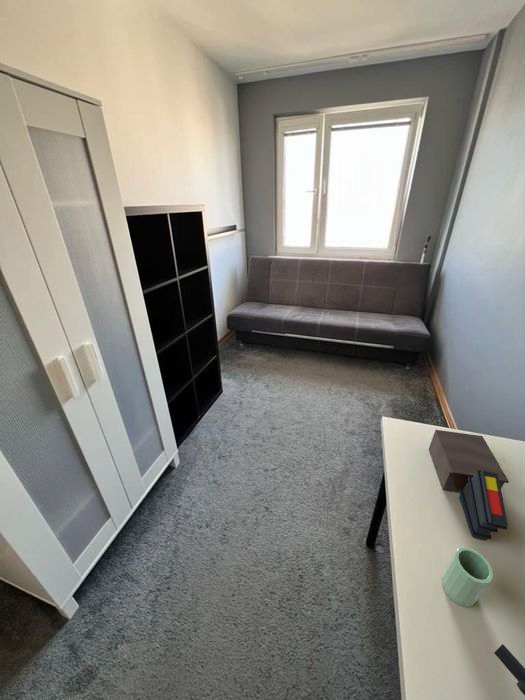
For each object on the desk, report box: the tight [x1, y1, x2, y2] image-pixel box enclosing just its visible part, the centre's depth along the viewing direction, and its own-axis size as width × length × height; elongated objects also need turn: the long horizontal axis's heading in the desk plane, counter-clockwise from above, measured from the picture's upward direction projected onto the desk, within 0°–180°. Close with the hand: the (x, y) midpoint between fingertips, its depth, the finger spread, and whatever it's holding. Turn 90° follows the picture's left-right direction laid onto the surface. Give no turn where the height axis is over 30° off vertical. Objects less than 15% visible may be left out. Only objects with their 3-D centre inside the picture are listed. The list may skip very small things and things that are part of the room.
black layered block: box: [458, 470, 509, 541], centre depth 67 cm, size 4×13×15 cm, turn 163°
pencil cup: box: [441, 546, 494, 608], centre depth 56 cm, size 6×6×10 cm
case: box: [428, 432, 505, 494], centre depth 80 cm, size 15×13×8 cm
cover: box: [434, 429, 510, 484], centre depth 78 cm, size 16×13×1 cm
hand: (520, 622), depth 48 cm, fingers open, 13 cm apart
